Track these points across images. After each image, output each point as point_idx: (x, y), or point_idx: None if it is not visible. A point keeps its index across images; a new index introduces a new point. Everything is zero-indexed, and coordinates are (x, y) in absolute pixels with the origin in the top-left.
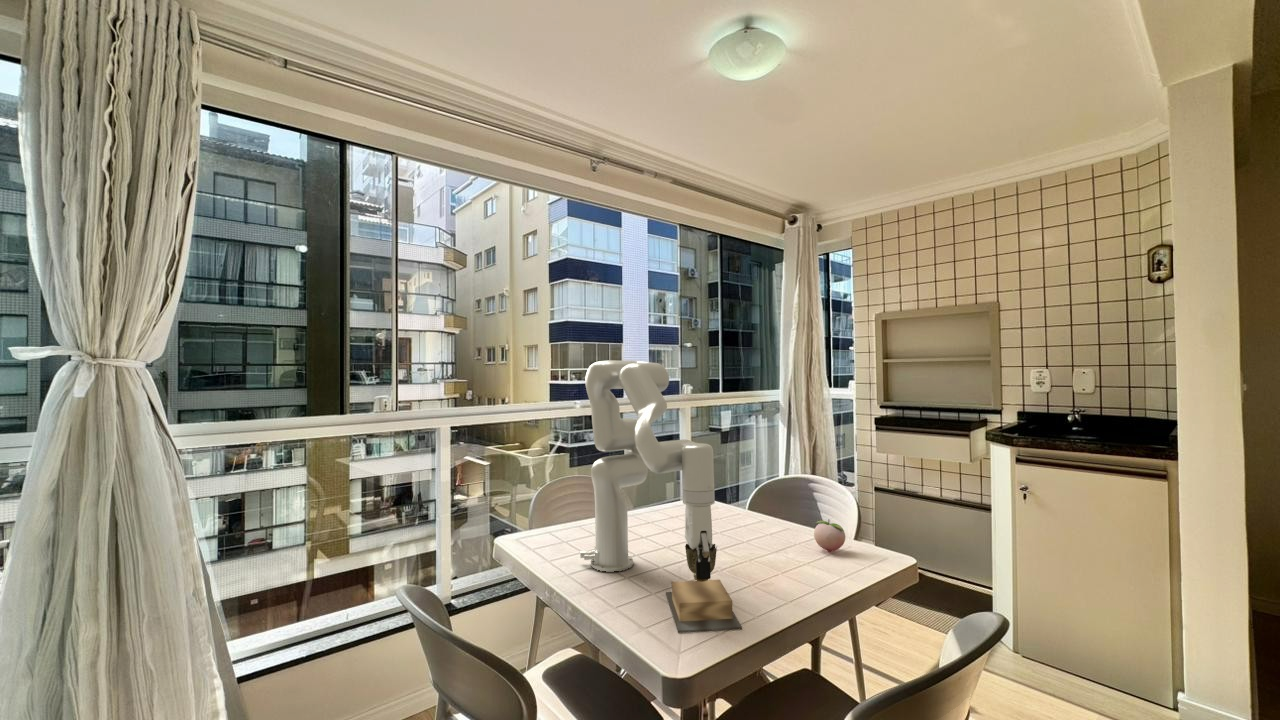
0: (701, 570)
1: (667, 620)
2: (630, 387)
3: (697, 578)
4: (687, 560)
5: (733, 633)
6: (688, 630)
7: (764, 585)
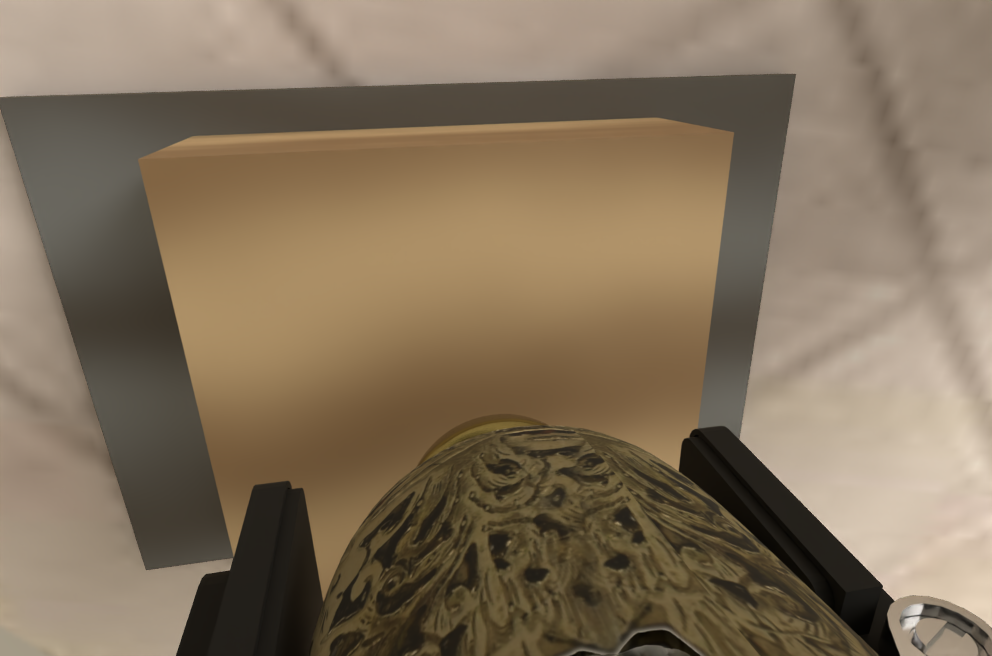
0: (186, 649)
1: (263, 23)
2: None
3: (252, 495)
4: (521, 494)
5: (81, 506)
6: (32, 196)
7: None
